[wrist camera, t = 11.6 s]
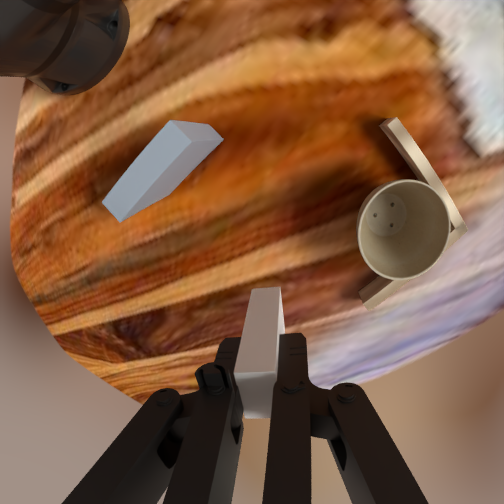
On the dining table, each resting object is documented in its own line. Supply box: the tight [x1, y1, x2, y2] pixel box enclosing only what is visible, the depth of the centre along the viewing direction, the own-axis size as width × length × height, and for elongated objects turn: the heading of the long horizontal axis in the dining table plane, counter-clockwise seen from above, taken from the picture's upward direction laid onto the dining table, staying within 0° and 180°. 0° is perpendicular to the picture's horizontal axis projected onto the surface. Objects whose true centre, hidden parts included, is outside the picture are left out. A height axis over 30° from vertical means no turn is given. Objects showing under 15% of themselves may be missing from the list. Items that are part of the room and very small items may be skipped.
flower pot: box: [356, 179, 451, 280], centre depth 30 cm, size 10×10×7 cm
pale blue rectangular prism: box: [102, 120, 224, 222], centre depth 28 cm, size 2×9×12 cm, turn 133°
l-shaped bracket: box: [358, 117, 468, 311], centre depth 32 cm, size 16×16×3 cm
